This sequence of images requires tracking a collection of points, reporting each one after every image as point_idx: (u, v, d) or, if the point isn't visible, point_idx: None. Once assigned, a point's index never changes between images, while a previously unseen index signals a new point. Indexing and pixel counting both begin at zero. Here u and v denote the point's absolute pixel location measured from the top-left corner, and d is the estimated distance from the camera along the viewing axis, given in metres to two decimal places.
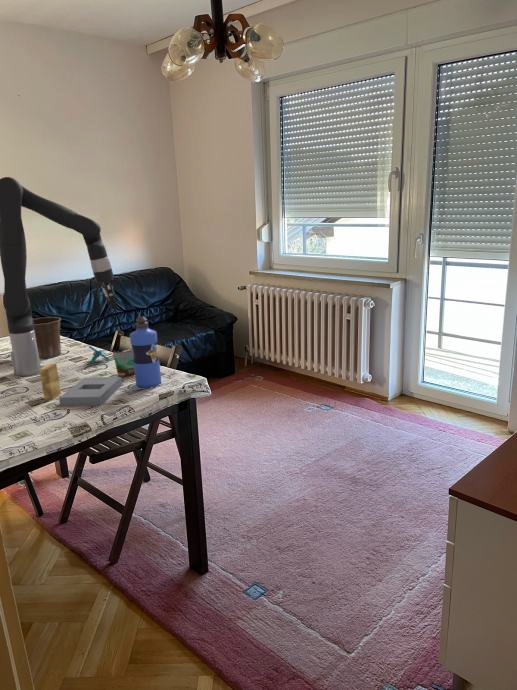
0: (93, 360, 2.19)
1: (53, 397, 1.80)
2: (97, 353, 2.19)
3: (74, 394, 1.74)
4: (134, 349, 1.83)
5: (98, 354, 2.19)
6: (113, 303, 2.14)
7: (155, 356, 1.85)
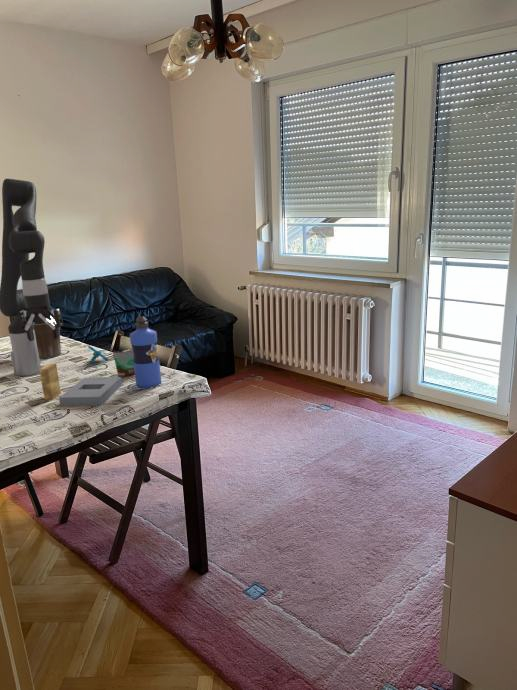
0: (92, 360, 2.19)
1: (53, 397, 1.80)
2: (96, 353, 2.19)
3: (74, 394, 1.74)
4: (134, 349, 1.83)
5: (97, 354, 2.19)
6: None
7: (155, 356, 1.85)
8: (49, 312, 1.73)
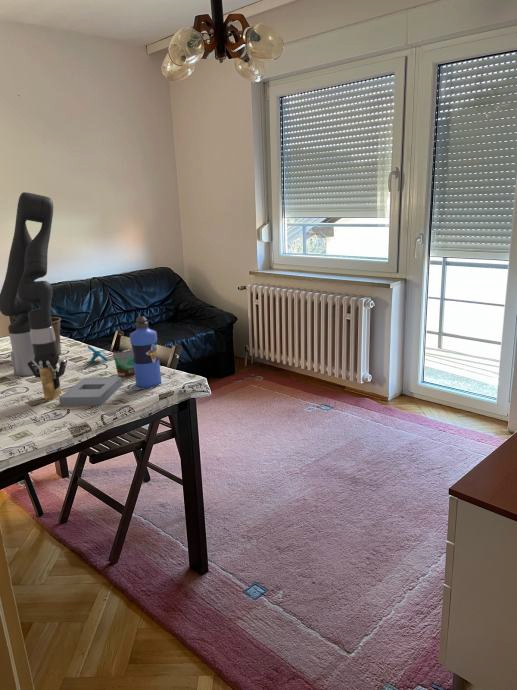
0: (92, 360, 2.19)
1: (53, 397, 1.80)
2: (96, 353, 2.19)
3: (74, 394, 1.74)
4: (134, 349, 1.83)
5: (97, 354, 2.19)
6: None
7: (155, 356, 1.85)
8: (56, 360, 1.77)
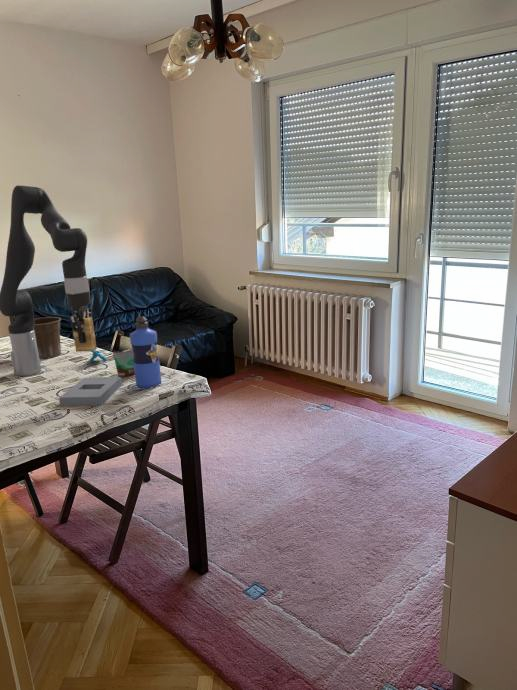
0: (90, 360, 2.19)
1: None
2: (95, 353, 2.19)
3: (74, 394, 1.74)
4: (134, 349, 1.83)
5: (95, 354, 2.19)
6: (81, 336, 1.73)
7: (155, 356, 1.85)
8: None
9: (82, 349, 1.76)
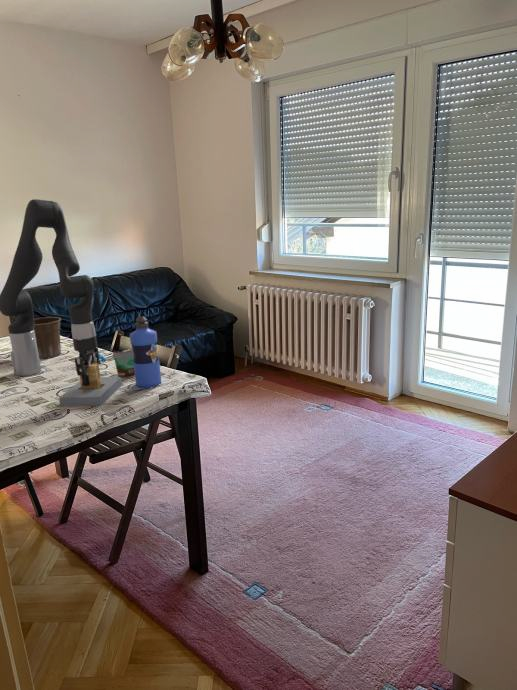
0: None
1: None
2: None
3: (74, 394, 1.74)
4: (134, 349, 1.83)
5: None
6: (84, 379, 1.75)
7: (155, 356, 1.85)
8: None
9: None
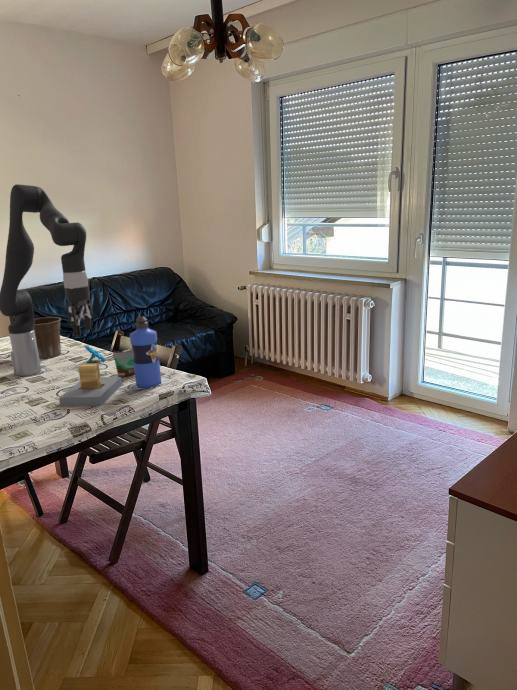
0: (89, 360, 2.19)
1: None
2: (93, 353, 2.19)
3: (74, 394, 1.74)
4: (134, 349, 1.83)
5: (94, 354, 2.19)
6: (75, 330, 1.71)
7: (155, 356, 1.85)
8: None
9: None
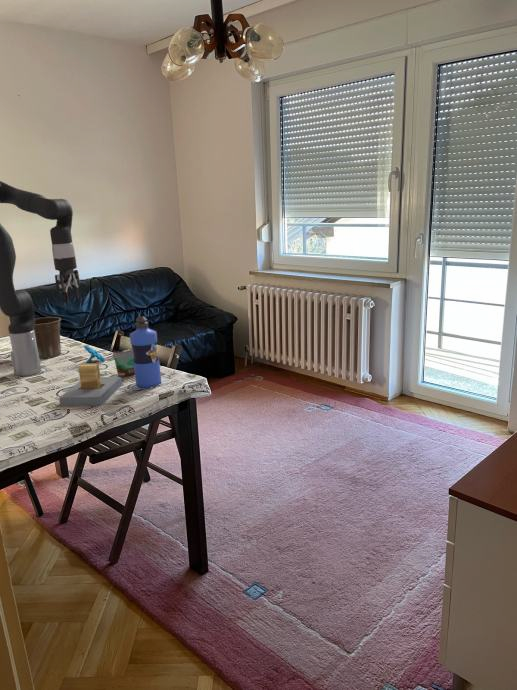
0: (88, 360, 2.19)
1: None
2: None
3: (74, 394, 1.74)
4: (134, 349, 1.83)
5: None
6: (63, 296, 1.88)
7: (155, 356, 1.85)
8: None
9: None
